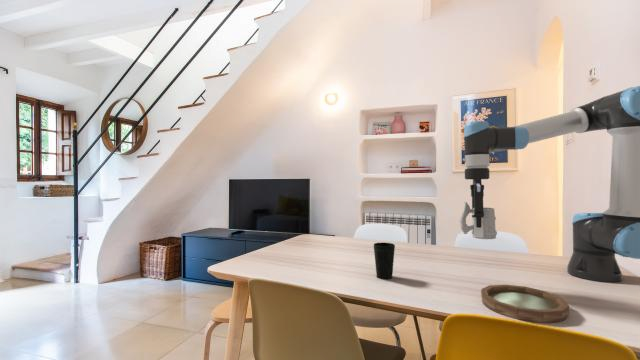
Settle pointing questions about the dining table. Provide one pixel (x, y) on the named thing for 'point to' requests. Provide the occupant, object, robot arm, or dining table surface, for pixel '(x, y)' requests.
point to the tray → (525, 303)
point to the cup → (384, 260)
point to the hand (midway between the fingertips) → (477, 235)
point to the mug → (488, 222)
